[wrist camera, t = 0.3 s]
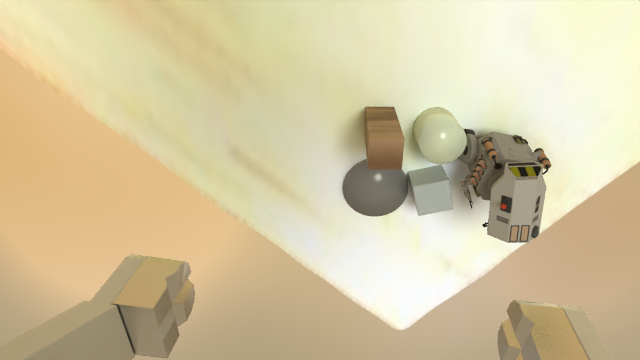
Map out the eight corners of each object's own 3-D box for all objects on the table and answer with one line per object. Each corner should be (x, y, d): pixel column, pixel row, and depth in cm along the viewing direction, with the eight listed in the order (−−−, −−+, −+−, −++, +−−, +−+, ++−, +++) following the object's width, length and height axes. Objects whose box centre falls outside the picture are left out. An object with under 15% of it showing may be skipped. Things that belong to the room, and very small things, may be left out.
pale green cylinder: (415, 107, 55) (422, 121, 50) (458, 107, 55) (470, 121, 49) (411, 146, 58) (417, 163, 53) (452, 146, 58) (462, 164, 52)
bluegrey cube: (408, 171, 60) (412, 187, 56) (441, 164, 59) (448, 179, 55) (413, 198, 62) (418, 215, 58) (445, 192, 61) (453, 209, 57)
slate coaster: (343, 157, 59) (343, 159, 59) (410, 158, 59) (410, 160, 58) (343, 212, 64) (342, 215, 63) (404, 214, 63) (405, 217, 63)
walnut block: (365, 106, 56) (369, 138, 45) (394, 107, 55) (404, 138, 45) (364, 133, 57) (367, 169, 47) (391, 133, 57) (401, 169, 47)
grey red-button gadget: (443, 187, 61) (468, 246, 48) (468, 117, 55) (504, 163, 42) (499, 197, 61) (541, 259, 48) (530, 129, 55) (586, 178, 42)
